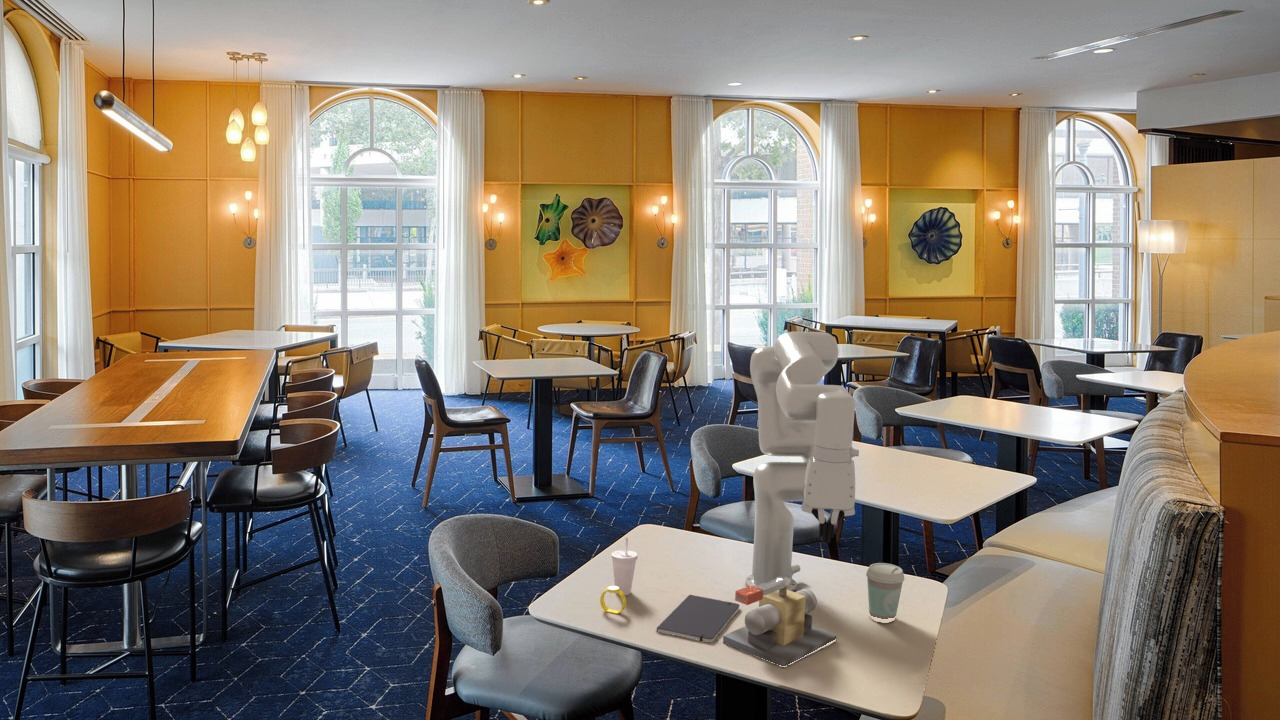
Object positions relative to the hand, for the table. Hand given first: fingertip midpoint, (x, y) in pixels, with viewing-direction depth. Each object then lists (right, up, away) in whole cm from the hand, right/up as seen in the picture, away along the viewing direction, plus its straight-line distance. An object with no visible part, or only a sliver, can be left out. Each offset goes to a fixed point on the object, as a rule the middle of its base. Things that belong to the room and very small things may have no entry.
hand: (825, 540), depth 191 cm
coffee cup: (+18, -23, +25) cm, 38 cm away
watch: (-44, -21, +23) cm, 54 cm away
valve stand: (-8, -24, +10) cm, 27 cm away
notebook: (-24, -23, +21) cm, 39 cm away
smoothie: (-42, -20, +35) cm, 58 cm away
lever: (-12, -12, +4) cm, 17 cm away
